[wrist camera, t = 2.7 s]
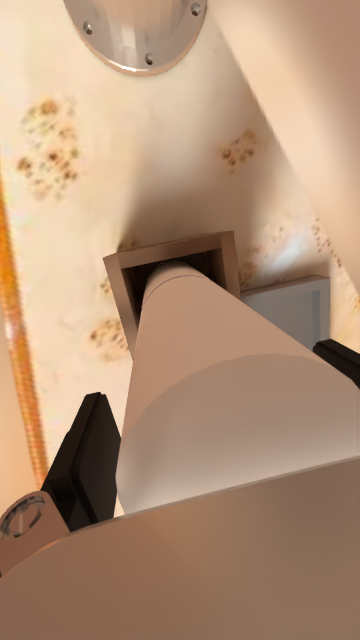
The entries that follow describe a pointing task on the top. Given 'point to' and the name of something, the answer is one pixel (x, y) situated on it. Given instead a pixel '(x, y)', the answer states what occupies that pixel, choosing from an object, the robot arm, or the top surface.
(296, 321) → the tray
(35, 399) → the top surface
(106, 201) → the top surface
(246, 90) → the top surface
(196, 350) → the cylindrical container
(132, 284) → the sleeve holder
